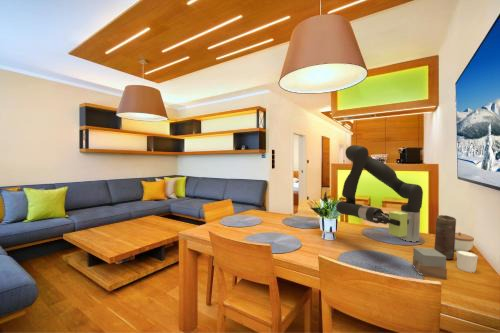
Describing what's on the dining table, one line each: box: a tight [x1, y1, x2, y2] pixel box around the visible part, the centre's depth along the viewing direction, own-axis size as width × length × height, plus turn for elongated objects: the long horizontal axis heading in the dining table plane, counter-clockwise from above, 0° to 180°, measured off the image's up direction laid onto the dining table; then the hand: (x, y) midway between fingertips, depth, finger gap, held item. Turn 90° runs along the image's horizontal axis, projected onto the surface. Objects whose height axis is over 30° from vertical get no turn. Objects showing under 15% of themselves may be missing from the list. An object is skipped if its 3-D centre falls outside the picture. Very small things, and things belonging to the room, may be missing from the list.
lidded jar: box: [454, 231, 475, 252], centre depth 118 cm, size 11×11×9 cm
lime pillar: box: [388, 210, 408, 238], centre depth 101 cm, size 5×5×10 cm
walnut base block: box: [412, 257, 448, 280], centre depth 95 cm, size 9×9×4 cm
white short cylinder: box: [455, 251, 479, 273], centre depth 98 cm, size 7×7×7 cm
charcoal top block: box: [412, 247, 447, 269], centre depth 95 cm, size 8×8×4 cm
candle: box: [433, 214, 457, 260], centre depth 109 cm, size 8×7×20 cm
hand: (403, 222), depth 99 cm, fingers closed on lime pillar, 5 cm apart
